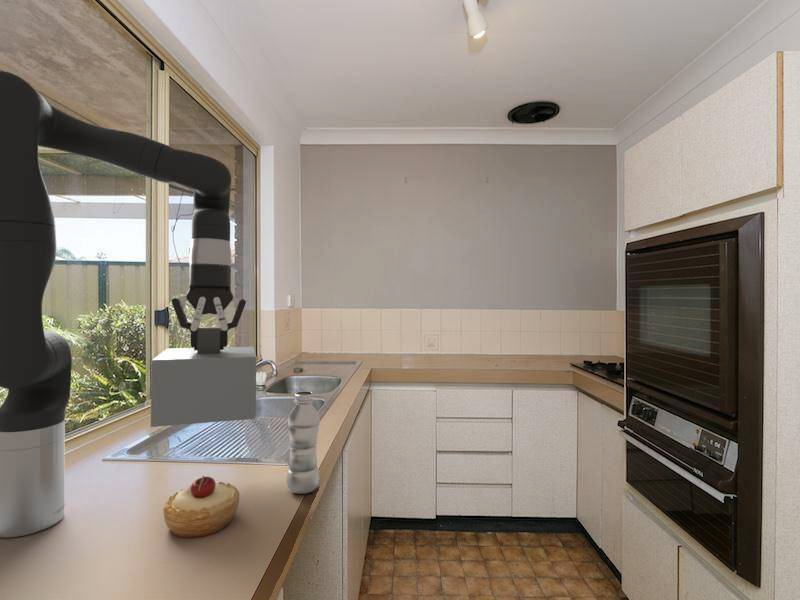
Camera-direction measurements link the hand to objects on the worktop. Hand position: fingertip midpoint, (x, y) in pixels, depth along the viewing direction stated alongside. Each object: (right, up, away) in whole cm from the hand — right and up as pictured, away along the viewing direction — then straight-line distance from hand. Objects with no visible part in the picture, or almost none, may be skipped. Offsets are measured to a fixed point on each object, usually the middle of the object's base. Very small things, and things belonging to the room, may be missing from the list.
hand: (209, 349), depth 85 cm
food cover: (0, -12, 0) cm, 12 cm away
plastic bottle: (+18, -29, +2) cm, 35 cm away
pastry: (+3, -30, -10) cm, 31 cm away
